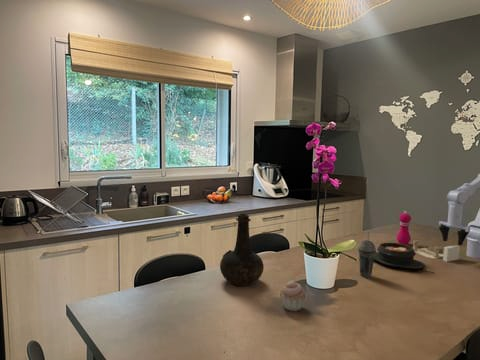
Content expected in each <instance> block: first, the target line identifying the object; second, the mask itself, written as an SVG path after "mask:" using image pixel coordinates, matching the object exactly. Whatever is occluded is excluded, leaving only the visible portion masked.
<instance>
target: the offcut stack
mask: <svg viewBox="0 0 480 360" xmlns="http://www.w3.org/2000/svg"><path fill="white" fill-rule="evenodd" d="M434 247H437V246H436V245H430V246H429V247H427V248H428V249H427V251H430V252H433V253H434ZM442 249H443V248H442V247H439V253H443V252H444V250H442Z"/></svg>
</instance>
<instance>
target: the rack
mask: <svg viewBox="0 0 480 360" xmlns="http://www.w3.org/2000/svg"><path fill="white" fill-rule="evenodd" d="M412 241H413V242H412V248H413V249H414V252H415V253H416V255H419V256H423V257H424V258H425V257H426V258H427V259H432V260H433V259H437V258H443V253H444V251H443V253H439V248H440V246H436V247H434V253H433V252H430V251H427V249H428V248H429V247H421V248H419V240H412Z"/></svg>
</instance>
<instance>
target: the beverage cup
mask: <svg viewBox="0 0 480 360" xmlns="http://www.w3.org/2000/svg"><path fill="white" fill-rule="evenodd" d="M375 252H377V248H376V246H375V244H374V243H373V242H372V241H371V240H370V229H368V230H367V239H366V240H363V241H361V242H360V243H359V245H358V255H359V259H358V260H359V276H360V277H361V278H364V277H365V278H364V279H370V278H372V275H373V267H374V263H375V262H374V261H375V260H374V256H375Z"/></svg>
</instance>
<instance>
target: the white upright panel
mask: <svg viewBox="0 0 480 360" xmlns="http://www.w3.org/2000/svg"><path fill="white" fill-rule="evenodd" d="M460 246H461V245H458V244H457V245H456V244H454V245H449V246H444V247H443V252H444V253H443V257H442V261H443V262H451V261H452V262H453V261H456V260H459V259H460V251H461V250H460V249H461V247H460Z"/></svg>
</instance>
